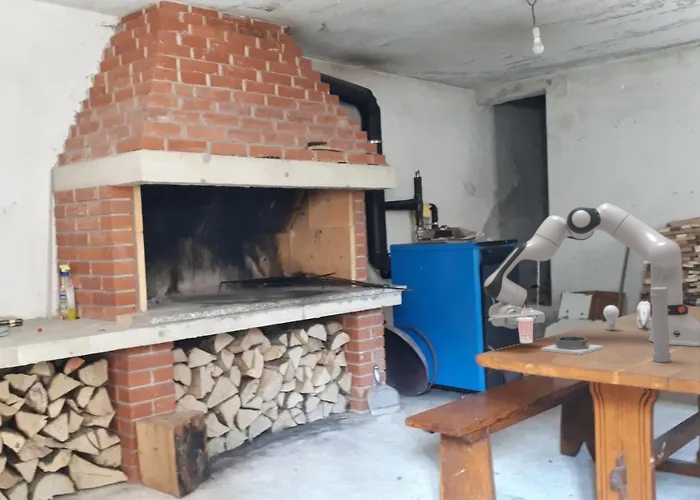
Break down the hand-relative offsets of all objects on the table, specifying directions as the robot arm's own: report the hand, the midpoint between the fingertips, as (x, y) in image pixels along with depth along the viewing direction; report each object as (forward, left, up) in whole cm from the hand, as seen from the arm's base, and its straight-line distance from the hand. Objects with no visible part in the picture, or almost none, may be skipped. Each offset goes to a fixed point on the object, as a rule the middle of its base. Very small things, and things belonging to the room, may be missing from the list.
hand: (526, 321), depth 254 cm
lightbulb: (0, -60, -12) cm, 61 cm away
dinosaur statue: (-8, -73, -12) cm, 75 cm away
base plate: (-11, -12, -11) cm, 20 cm away
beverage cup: (+1, -1, -8) cm, 8 cm away
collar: (-11, -12, -11) cm, 20 cm away
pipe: (-46, -10, -12) cm, 48 cm away
